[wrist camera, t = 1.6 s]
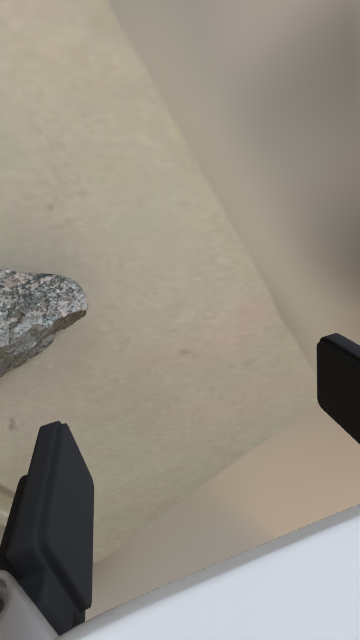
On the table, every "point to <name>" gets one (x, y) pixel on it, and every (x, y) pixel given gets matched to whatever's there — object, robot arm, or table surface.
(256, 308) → the table surface
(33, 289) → the rock
